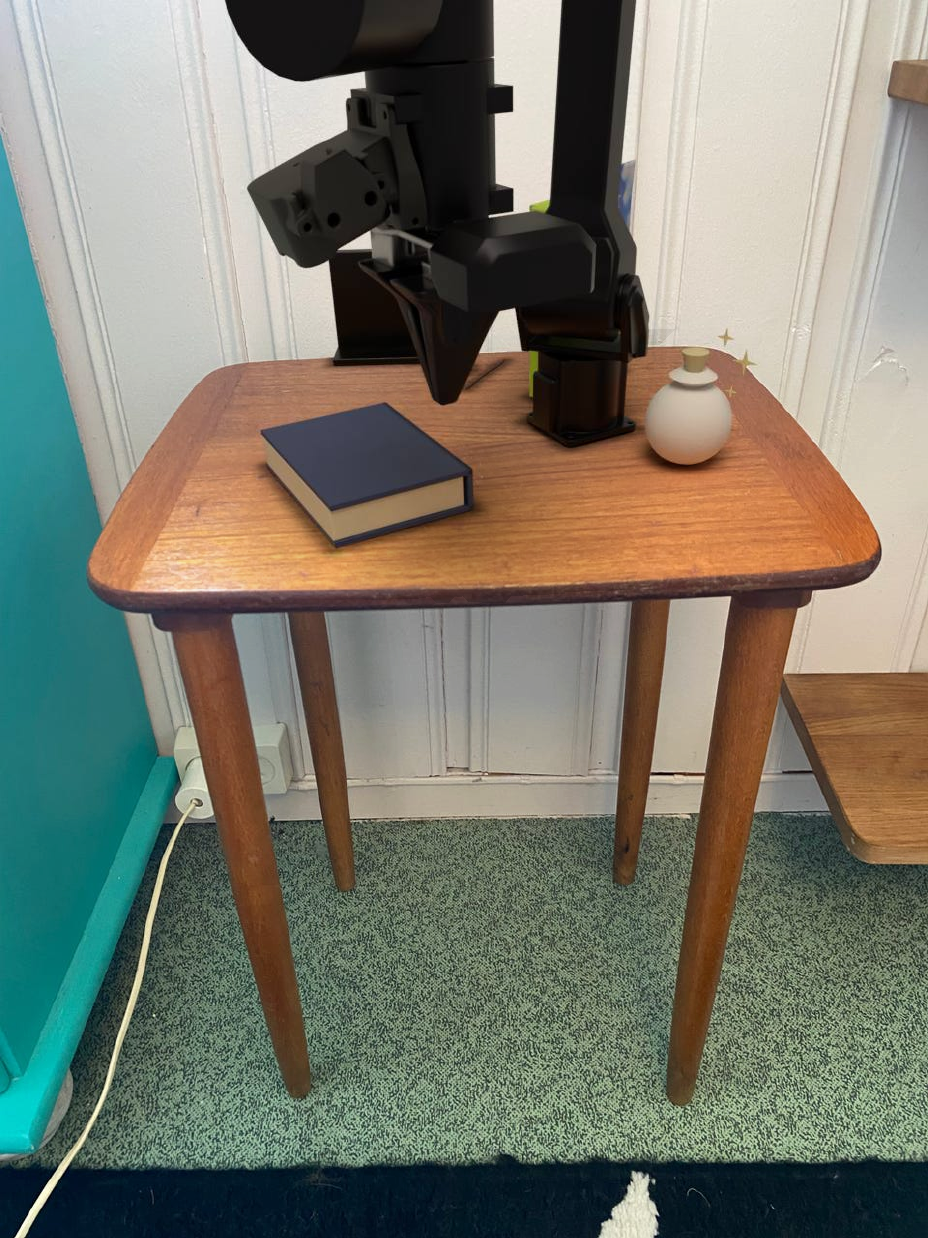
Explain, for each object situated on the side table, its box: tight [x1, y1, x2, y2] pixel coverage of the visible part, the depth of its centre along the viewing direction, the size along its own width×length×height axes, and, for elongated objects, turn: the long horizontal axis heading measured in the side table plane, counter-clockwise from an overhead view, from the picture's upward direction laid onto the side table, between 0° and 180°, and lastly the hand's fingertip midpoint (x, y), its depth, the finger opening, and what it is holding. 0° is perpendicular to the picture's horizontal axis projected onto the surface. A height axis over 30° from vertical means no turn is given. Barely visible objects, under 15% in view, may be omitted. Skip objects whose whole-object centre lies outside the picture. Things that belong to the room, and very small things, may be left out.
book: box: [260, 401, 475, 549], centre depth 64 cm, size 10×14×3 cm
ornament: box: [644, 328, 758, 466], centre depth 63 cm, size 6×7×10 cm
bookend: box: [328, 248, 420, 366], centre depth 85 cm, size 10×5×9 cm, turn 89°
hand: (445, 402), depth 49 cm, fingers closed
